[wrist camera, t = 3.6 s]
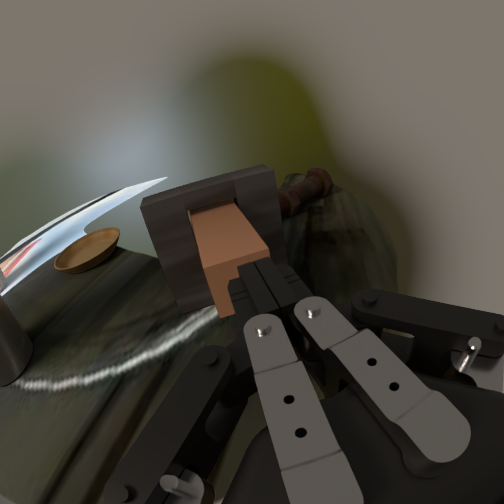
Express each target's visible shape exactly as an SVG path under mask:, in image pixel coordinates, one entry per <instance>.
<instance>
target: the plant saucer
mask: <svg viewBox="0 0 504 504" xmlns="http://www.w3.org/2000/svg"><path fill="white" fill-rule="evenodd" d="M119 235H120V230H119V229H118V228H114V227H109V228H104V229H100V230H97V231H94V232H92V233H90V234H87V235H85V236H83V237H81V238H80V239H78V240H76V241H75V242H73V243H72V244H70V245H69V246H68V247H67V248H65V249H64V250H63V251H62V252H61V253H60V254H59V256H58V257H57V258H56V260H55V263H54V266H55V268H56V269H58V270H60V271H63V272H66V273H71V274H77V273H81V272H84V271H87V270H89V269H91V268H93V267H95V266H97V265H98V264H100V263H101V262H103V261H104V260H105V259H107V258H108V257H109V256H110V255H111V254H112V253H113V251H114V249H115V247H116V245H117V242H118V239H119Z"/></svg>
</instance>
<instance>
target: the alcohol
mask: <svg viewBox="0 0 504 504" xmlns="http://www.w3.org/2000/svg"><path fill="white" fill-rule="evenodd" d="M5 286H6V277H5V276H4V274H3V272H2V270H1V268H0V292H1V291H2V290H3V289H4V288H5Z"/></svg>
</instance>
